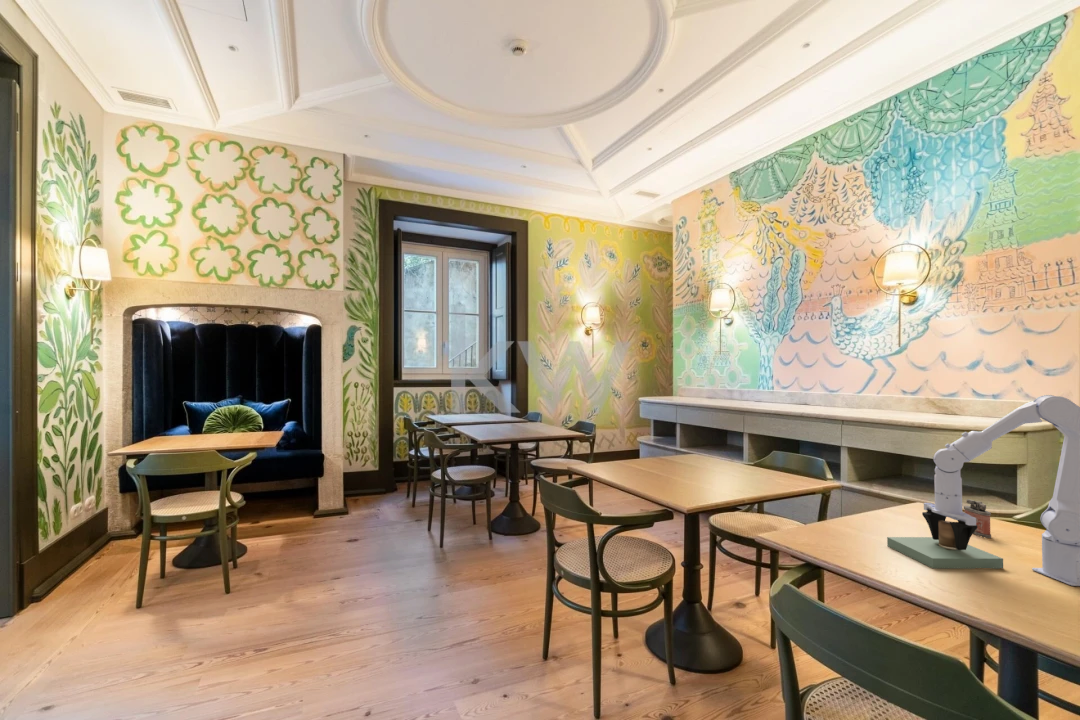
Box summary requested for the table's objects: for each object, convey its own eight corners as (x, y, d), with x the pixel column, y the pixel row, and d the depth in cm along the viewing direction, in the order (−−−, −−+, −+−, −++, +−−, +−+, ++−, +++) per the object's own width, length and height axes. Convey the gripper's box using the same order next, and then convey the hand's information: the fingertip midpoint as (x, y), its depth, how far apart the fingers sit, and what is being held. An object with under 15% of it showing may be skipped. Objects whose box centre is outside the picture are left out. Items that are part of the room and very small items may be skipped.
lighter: (994, 538, 146) (994, 504, 147) (983, 538, 147) (982, 504, 147) (971, 529, 154) (971, 497, 155) (960, 529, 155) (960, 497, 155)
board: (1003, 568, 123) (1003, 558, 123) (932, 568, 123) (932, 558, 123) (949, 546, 139) (949, 537, 139) (887, 545, 139) (887, 537, 139)
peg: (965, 559, 129) (964, 525, 129) (948, 559, 129) (948, 525, 129) (950, 553, 134) (949, 520, 134) (934, 553, 134) (933, 520, 134)
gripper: (912, 487, 139) (913, 535, 139) (956, 500, 125) (957, 554, 124) (937, 487, 139) (938, 535, 139) (983, 500, 125) (984, 554, 124)
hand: (949, 544), depth 131 cm, fingers open, 7 cm apart
